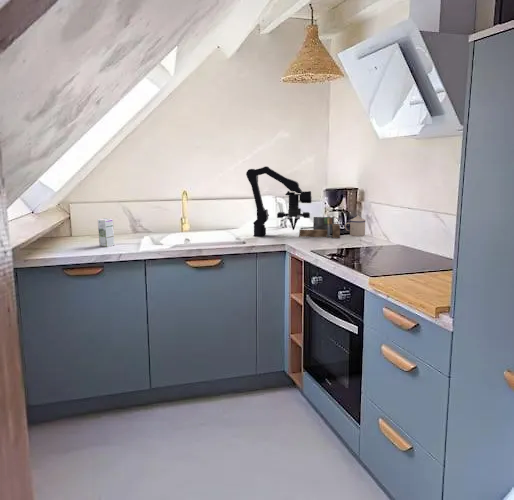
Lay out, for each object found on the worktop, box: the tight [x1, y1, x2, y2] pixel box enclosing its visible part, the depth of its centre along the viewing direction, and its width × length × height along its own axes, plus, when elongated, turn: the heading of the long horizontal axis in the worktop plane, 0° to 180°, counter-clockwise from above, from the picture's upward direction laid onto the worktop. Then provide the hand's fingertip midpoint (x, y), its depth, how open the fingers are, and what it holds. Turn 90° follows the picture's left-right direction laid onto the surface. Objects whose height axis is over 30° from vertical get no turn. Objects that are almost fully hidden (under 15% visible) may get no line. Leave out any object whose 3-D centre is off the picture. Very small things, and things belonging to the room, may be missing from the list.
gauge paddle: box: [327, 218, 331, 238], centre depth 293 cm, size 1×14×9 cm, turn 173°
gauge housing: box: [312, 216, 341, 239], centre depth 294 cm, size 15×17×10 cm
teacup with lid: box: [344, 215, 366, 237], centre depth 295 cm, size 12×9×12 cm
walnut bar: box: [298, 229, 328, 238], centre depth 293 cm, size 16×4×4 cm, turn 84°
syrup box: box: [97, 217, 115, 248], centre depth 265 cm, size 6×6×14 cm
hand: (293, 229), depth 293 cm, fingers closed
